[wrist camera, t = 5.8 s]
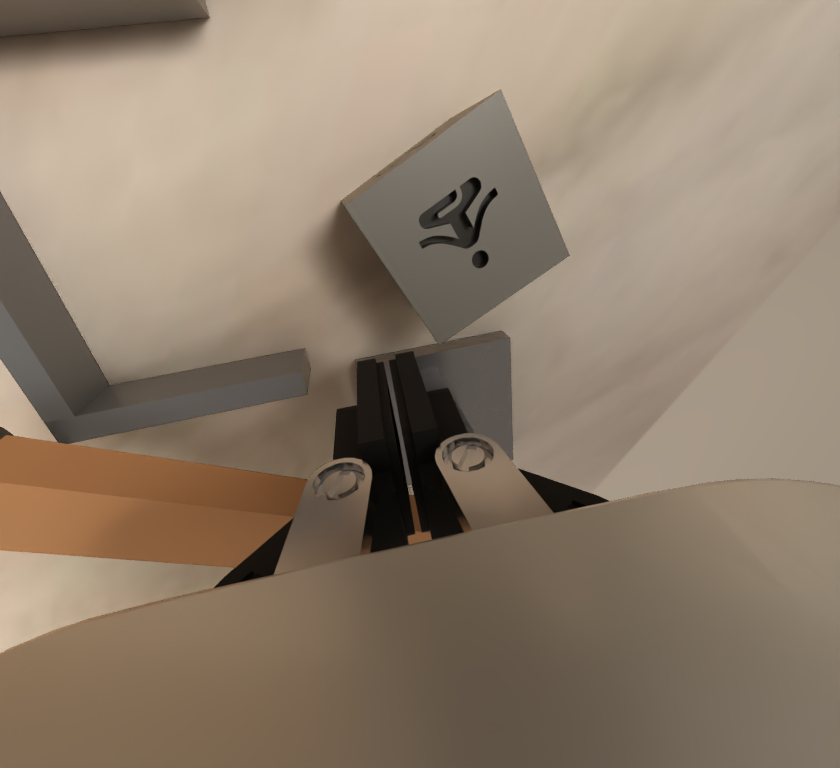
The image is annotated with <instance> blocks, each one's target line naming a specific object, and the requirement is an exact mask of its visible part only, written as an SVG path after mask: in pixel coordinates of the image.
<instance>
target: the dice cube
mask: <svg viewBox="0 0 840 768" xmlns="http://www.w3.org/2000/svg"><path fill="white" fill-rule="evenodd" d="M341 202H342V203H343V205H344V206H345V208H346V209H347V211H348V212H349V214H350V215H351V217H352V218H353V220H354V221H355V223H356V224H357V225H358V227H359V228H360V230H361V231H362V233H363V234H364V236H365V237H366V239H367V240H368V242H369V243H370V245H371V246H372V247H373V249H374V250H375V252H376V253H377V255H378V256H379V258H380V259H381V261H382V262H383V264H384V265H385V267H386V268H387V269H388V271H389V272H390V274H391V275H392V277H393V278H394V280H395V281H396V283H397V284H398V286H399V287H400V289H401V290H402V292H403V293H404V294H405V296H406V297H407V299H408V300H409V302H410V303H411V305H412V306H413V308H414V309H415V311H416V312H417V314H418V315H419V316H420V318H421V319H422V321H423V322H424V324H425V325H426V327H427V328H428V330H429V331H430V333H431V334H432V336H433V337H434V338H435V340H436V341H437V343H438V344H439V345H440V344H442V343H443V342H445V341H446V340H448V339H449V338H451V337H452V336H453V335H455V334H456V333H458V332H459V331H461V330H462V329H464V328H465V327H467V326H468V325H469V324H471V323H472V322H474V321H475V320H477V319H478V318H480V317H481V316H483V315H484V314H485V313H487V312H488V311H490V310H491V309H493V308H494V307H496V306H497V305H498V304H500V303H501V302H503V301H504V300H506V299H507V298H509V297H510V296H512V295H513V294H514V293H516V292H517V291H519V290H520V289H522V288H523V287H525V286H526V285H528V284H529V283H530V282H532V281H533V280H535V279H536V278H538V277H539V276H541V275H542V274H544V273H545V272H546V271H548V270H549V269H551V268H552V267H554V266H555V265H557V264H558V263H560V262H561V261H562V260H564V259H565V258H567V257H568V256H570V255H569V253H568V250H567V248H566V246H565V243H564V241H563V238H562V236H561V234H560V231H559V229H558V226H557V224H556V221H555V219H554V217H553V214H552V212H551V209H550V207H549V205H548V202H547V200H546V197H545V195H544V193H543V190H542V188H541V185H540V183H539V180H538V178H537V176H536V173H535V171H534V168H533V166H532V164H531V161H530V159H529V156H528V154H527V152H526V149H525V147H524V144H523V142H522V139H521V137H520V135H519V132H518V130H517V127H516V125H515V123H514V120H513V118H512V115H511V113H510V110H509V108H508V106H507V103H506V101H505V98H504V96H503V94H502V91H501V89H500V90H499V91H497V92H495V93H493V94H492V95H490V96H488V97H487V98H485V99H483V100H481V101H480V102H478V103H476V104H474V105H473V106H471V107H469V108H468V109H466V110H464V111H462V112H461V113H459V114H457V115H455V116H454V117H452V118H450V119H449V120H448V121H446V122H445V123H444V124H442V125H441V126H440V127H438V128H437V129H436V130H434V131H433V132H432V133H430V134H429V135H428V136H426V137H425V138H424V139H422V140H421V141H420V142H418V143H417V144H416V145H414V146H413V147H412V148H410V149H409V150H408V151H406V152H405V153H404V154H402V155H401V156H400V157H398V158H397V159H396V160H394V161H393V162H392V163H390V164H389V165H388V166H386V167H385V168H384V169H382V170H381V171H380V172H378V173H377V174H376V175H374V176H373V177H372V178H370V179H369V180H368V181H366V182H365V183H364V184H362V185H361V186H360V187H358V188H357V189H356V190H355V191H353V192H352V193H351V194H349V195H348V196H347V197H345V198H344V199H343V200H341Z"/></svg>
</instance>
